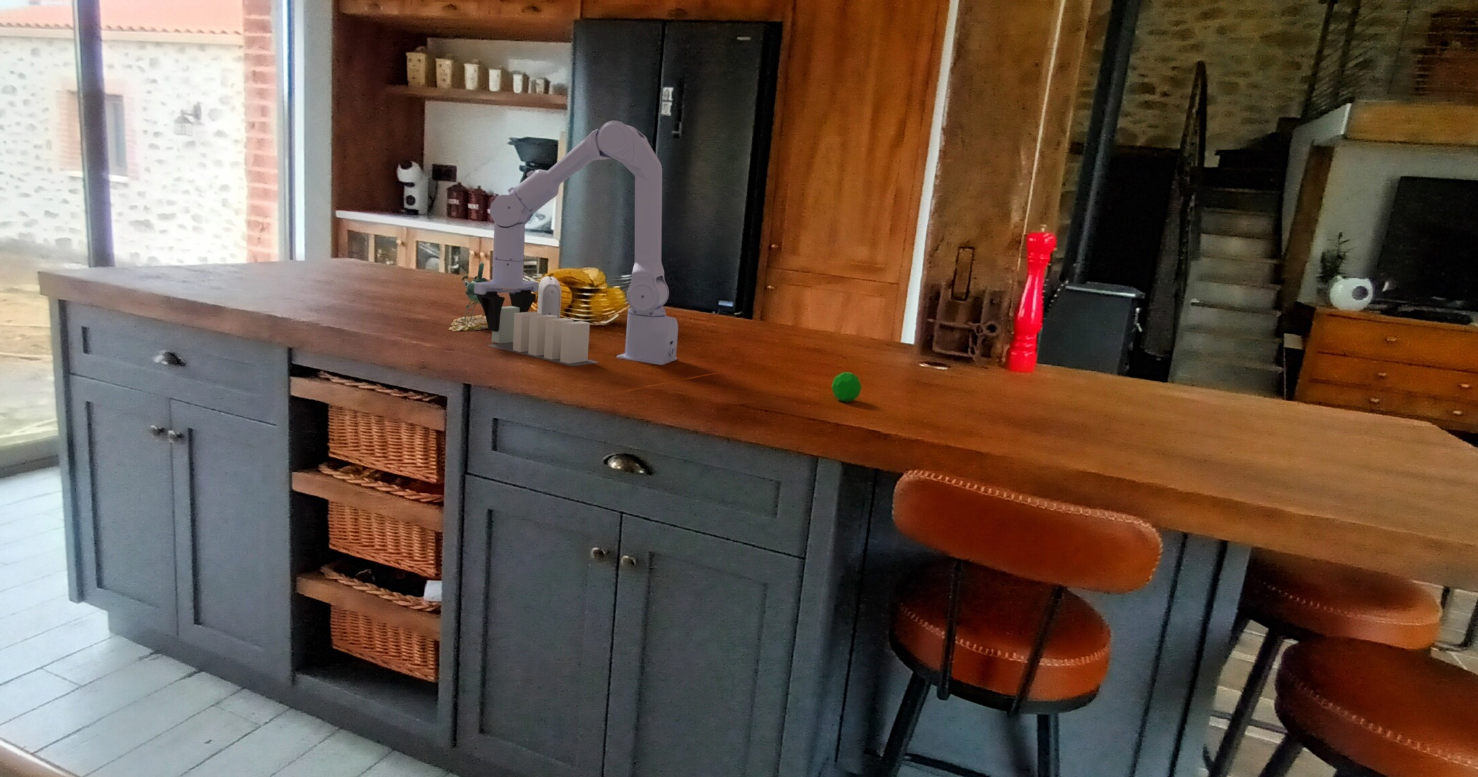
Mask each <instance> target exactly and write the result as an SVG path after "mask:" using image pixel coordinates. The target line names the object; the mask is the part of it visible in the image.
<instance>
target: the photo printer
mask: <svg viewBox="0 0 1478 777" xmlns="http://www.w3.org/2000/svg"><path fill="white" fill-rule="evenodd" d="M537 296H538V297H537V312H539V313H542V315H554V316H557V319H559V318H561V307H562V306H561V305H562V286H561V284H560V282H559V280H558V279H557V278H556V277H554V276H548V275H546V276H543V277H542V279H540V281H539V282H538V292H537Z"/></svg>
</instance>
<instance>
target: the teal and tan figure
mask: <svg viewBox="0 0 1478 777" xmlns="http://www.w3.org/2000/svg"><path fill="white" fill-rule="evenodd" d="M484 268H485V264H484V262H480V263H479V265H478V270H477V275H475V276H474V277H473V280H472V281H469V276H468V275H464V276H463V277H462V278H461V281H462V282H463V284H464V286H465V287H464V288H466V290H464V291H465V294H466V296H467V299H469V301H470V302H469V303H468V304H467V305H465V307H466V312H465V316H463V317H459V318H456V319H453V321H452V322H451V324H450V325H451V326H450V327H448V331H453V332H459V331H462V332H476V331H480V330H488V325H487V321H486V317H485V315H482V314H480V315H473V312H474V309H475V307H476V305H477V304H479V305H481V303H480V302H479V300H478V298H477V293H474V283H481V282H488V279H487V278H485V277H483V273H484ZM471 303H472V304H471ZM472 306H473V308H472V310H471V313H470V314H471V315H470V316H467V315H468V312H469V311H468V310H469V308H470V307H472Z"/></svg>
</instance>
